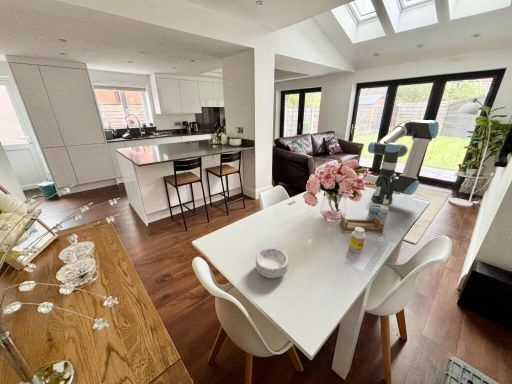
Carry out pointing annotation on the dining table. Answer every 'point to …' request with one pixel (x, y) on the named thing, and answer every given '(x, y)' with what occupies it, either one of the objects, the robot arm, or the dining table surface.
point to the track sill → (362, 224)
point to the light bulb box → (378, 212)
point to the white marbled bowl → (272, 263)
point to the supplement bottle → (357, 239)
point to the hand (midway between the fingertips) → (380, 199)
